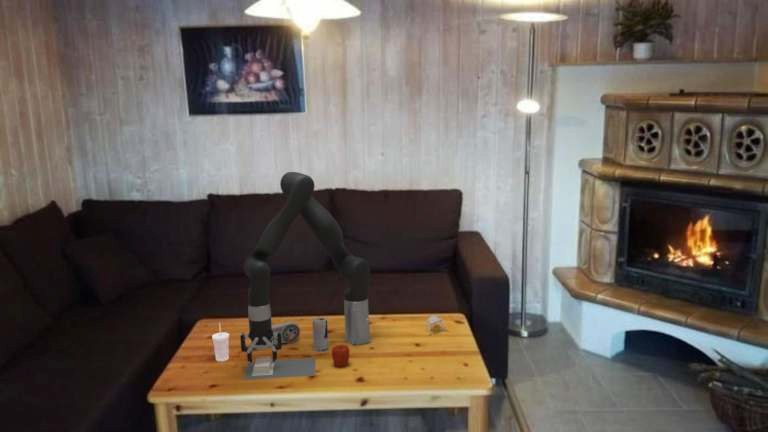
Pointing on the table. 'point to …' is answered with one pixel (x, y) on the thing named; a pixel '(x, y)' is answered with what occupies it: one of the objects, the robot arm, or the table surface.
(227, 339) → the beverage cup
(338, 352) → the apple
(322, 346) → the energy drink
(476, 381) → the table surface
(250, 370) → the mat
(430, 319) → the origami figure
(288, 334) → the game controller
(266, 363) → the pink-tipped white block
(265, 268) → the robot arm
